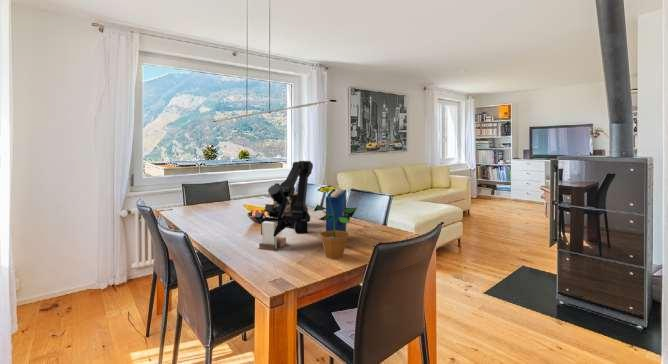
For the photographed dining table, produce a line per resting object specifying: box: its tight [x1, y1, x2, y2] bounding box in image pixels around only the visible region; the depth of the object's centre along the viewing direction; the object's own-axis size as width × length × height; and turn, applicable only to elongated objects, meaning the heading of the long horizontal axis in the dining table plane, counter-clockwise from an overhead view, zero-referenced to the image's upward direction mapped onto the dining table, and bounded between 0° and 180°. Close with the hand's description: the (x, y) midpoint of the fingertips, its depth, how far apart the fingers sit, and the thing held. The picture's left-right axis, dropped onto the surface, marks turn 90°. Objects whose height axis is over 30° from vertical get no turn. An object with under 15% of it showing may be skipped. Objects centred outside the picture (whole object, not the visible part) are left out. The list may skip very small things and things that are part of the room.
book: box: [325, 188, 347, 232], centre depth 172 cm, size 22×7×25 cm, turn 168°
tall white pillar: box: [261, 221, 278, 249], centre depth 158 cm, size 2×6×12 cm, turn 70°
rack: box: [257, 242, 288, 252], centre depth 161 cm, size 12×9×3 cm
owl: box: [282, 191, 298, 230], centre depth 203 cm, size 13×13×20 cm
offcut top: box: [277, 236, 287, 243], centre depth 164 cm, size 5×8×2 cm, turn 70°
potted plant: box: [313, 185, 358, 260], centre depth 148 cm, size 18×19×30 cm
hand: (267, 235), depth 157 cm, fingers closed on tall white pillar, 6 cm apart
